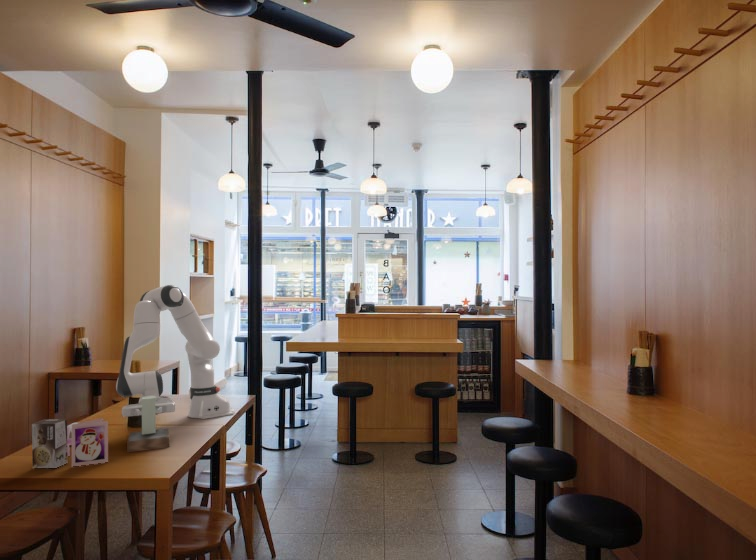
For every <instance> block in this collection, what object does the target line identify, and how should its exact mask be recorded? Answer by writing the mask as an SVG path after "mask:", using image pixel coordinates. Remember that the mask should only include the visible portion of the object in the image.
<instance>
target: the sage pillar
mask: <svg viewBox="0 0 756 560" xmlns="http://www.w3.org/2000/svg"><path fill="white" fill-rule="evenodd" d="M155 409H156V408H155V396H148V397H142V415H141V431H142V434H151V433H156V429H157V426H156V422H157V421H156V419H157V417H156V416H157V415H156V414H155Z"/></svg>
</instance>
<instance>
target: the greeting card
mask: <svg viewBox="0 0 756 560" xmlns="http://www.w3.org/2000/svg"><path fill="white" fill-rule="evenodd" d="M105 462H108V463H109V421H108V420H104V417H100V418H96V419H91V420H87V421H83V422H77V424H73V425H72V445H71V468H74V467H73V466H79V467H82V466H81V465H86V466H90V465H89V464H94V465H99V464H98V463H101V464H106V463H105Z"/></svg>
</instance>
